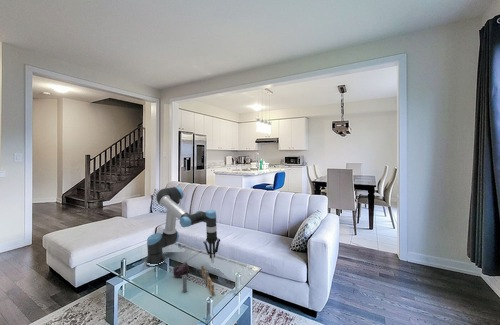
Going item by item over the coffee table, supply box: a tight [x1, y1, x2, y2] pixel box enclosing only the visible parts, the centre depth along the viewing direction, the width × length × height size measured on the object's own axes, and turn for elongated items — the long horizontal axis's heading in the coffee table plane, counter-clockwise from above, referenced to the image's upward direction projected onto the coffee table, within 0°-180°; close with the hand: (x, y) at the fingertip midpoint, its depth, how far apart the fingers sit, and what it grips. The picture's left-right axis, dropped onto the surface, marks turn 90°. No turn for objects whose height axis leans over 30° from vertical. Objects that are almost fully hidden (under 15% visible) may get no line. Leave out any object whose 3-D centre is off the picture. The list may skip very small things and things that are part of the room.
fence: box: [206, 275, 215, 297], centre depth 152 cm, size 12×1×7 cm, turn 26°
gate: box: [201, 265, 207, 283], centre depth 166 cm, size 12×1×7 cm, turn 26°
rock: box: [172, 262, 190, 278], centre depth 172 cm, size 12×9×10 cm
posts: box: [181, 269, 210, 294], centre depth 156 cm, size 3×18×11 cm, turn 116°
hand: (212, 262), depth 170 cm, fingers closed
